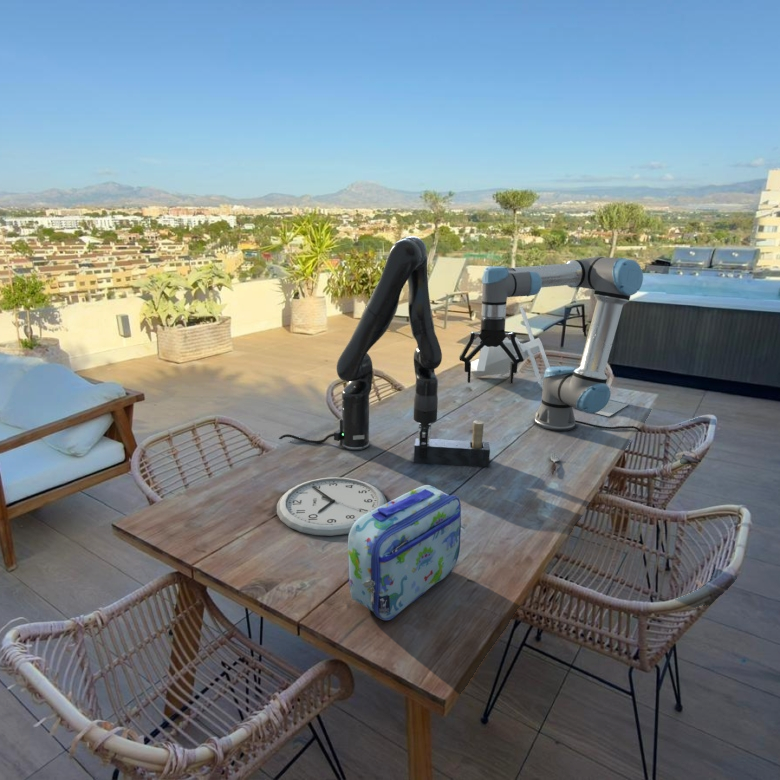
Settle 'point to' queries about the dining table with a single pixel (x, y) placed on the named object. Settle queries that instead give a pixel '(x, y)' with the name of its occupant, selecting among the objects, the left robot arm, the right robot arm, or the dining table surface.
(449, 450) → the peg board
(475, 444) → the peg
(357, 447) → the left robot arm
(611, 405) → the invitation card
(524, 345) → the white plastic object
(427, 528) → the lunch box
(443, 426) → the dining table surface
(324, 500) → the wall clock
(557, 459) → the fork
